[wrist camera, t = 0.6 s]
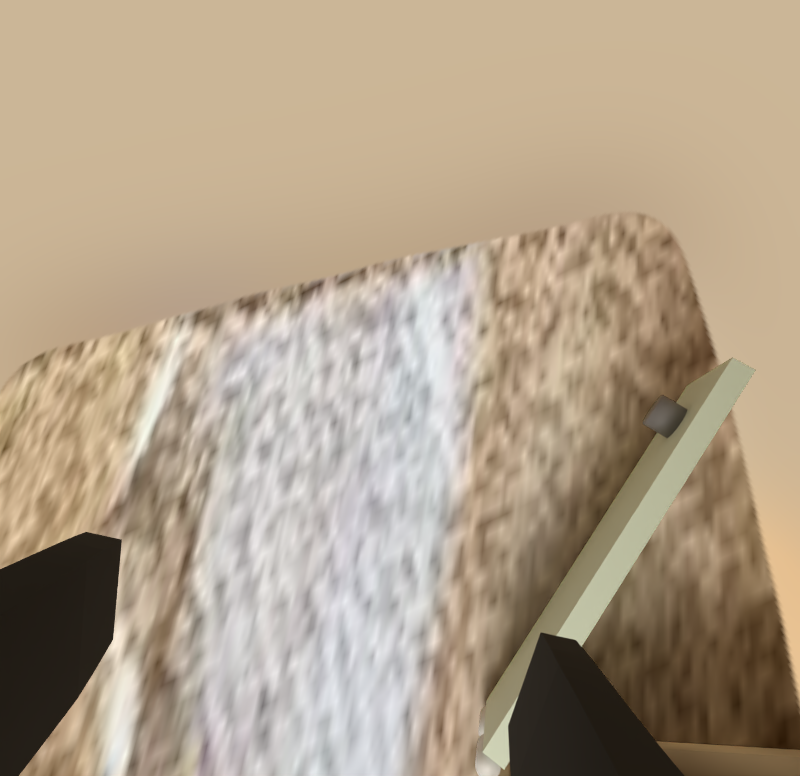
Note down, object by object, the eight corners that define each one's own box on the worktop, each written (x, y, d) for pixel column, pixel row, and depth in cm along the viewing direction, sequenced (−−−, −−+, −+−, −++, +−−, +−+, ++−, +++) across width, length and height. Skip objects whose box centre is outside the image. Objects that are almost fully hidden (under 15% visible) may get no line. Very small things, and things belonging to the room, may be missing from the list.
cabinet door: (705, 395, 29) (755, 369, 23) (493, 729, 28) (491, 789, 22) (665, 373, 30) (705, 342, 24) (456, 699, 29) (444, 751, 23)
